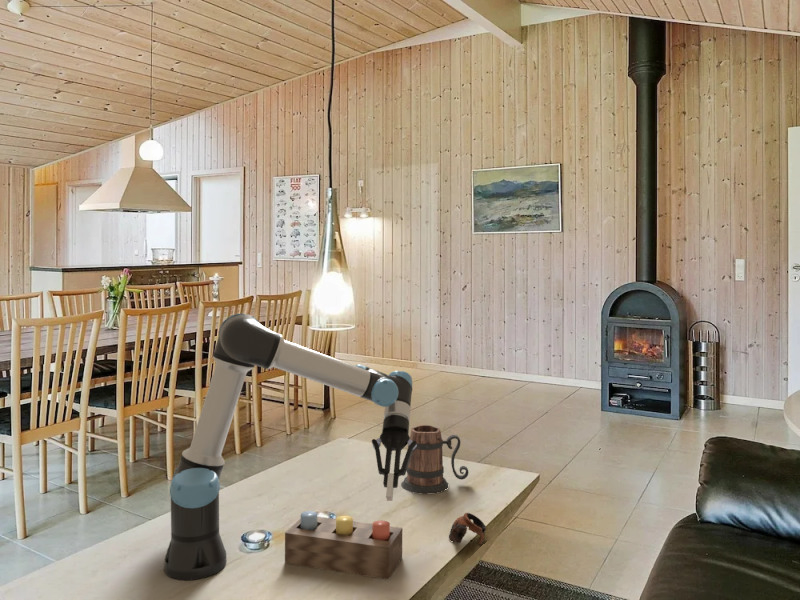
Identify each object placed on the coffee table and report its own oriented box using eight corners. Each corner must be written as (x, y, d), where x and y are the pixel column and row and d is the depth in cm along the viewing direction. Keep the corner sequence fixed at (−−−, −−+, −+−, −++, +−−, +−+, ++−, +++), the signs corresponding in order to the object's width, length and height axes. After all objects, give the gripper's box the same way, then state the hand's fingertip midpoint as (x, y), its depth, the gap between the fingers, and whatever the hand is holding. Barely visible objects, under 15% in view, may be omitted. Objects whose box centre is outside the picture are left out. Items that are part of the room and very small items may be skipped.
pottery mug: (454, 531, 183) (469, 508, 183) (479, 554, 178) (494, 530, 178) (436, 536, 173) (451, 511, 172) (461, 560, 168) (478, 534, 167)
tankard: (401, 493, 211) (402, 435, 210) (400, 476, 228) (401, 422, 226) (471, 494, 211) (472, 435, 210) (465, 477, 228) (466, 422, 227)
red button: (370, 543, 159) (370, 526, 159) (375, 536, 163) (375, 519, 163) (386, 546, 158) (386, 528, 158) (391, 538, 162) (391, 521, 162)
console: (284, 563, 162) (284, 532, 161) (304, 543, 173) (304, 514, 173) (388, 579, 154) (389, 547, 154) (402, 557, 166) (402, 527, 165)
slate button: (297, 533, 165) (297, 516, 164) (304, 526, 169) (304, 510, 169) (313, 535, 163) (313, 518, 163) (320, 528, 168) (320, 512, 167)
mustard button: (333, 538, 162) (333, 521, 162) (339, 531, 166) (339, 514, 166) (349, 540, 161) (349, 523, 160) (355, 533, 165) (355, 516, 165)
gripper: (419, 427, 184) (414, 505, 169) (375, 426, 185) (366, 503, 170) (418, 414, 178) (413, 493, 163) (372, 412, 180) (363, 491, 164)
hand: (389, 498), depth 166 cm, fingers closed
